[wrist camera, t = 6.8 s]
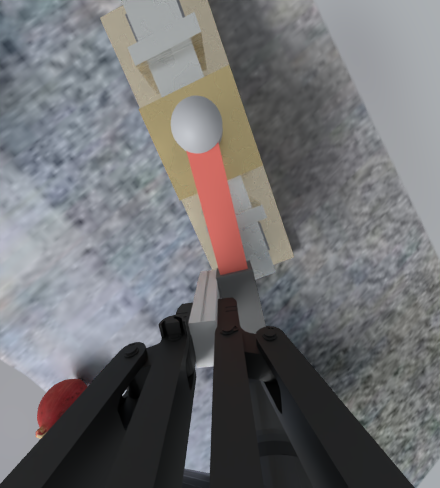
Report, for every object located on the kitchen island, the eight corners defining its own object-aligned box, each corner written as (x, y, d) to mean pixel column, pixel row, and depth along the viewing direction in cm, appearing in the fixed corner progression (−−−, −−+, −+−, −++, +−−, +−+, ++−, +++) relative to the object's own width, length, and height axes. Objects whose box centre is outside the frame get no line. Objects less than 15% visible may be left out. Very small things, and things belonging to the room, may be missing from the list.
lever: (170, 113, 14) (163, 103, 12) (216, 100, 14) (214, 88, 12) (229, 323, 18) (229, 338, 16) (265, 315, 18) (269, 330, 16)
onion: (95, 365, 34) (57, 419, 26) (102, 394, 35) (68, 453, 27) (58, 366, 34) (9, 420, 26) (67, 395, 35) (24, 454, 28)
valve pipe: (290, 253, 28) (331, 296, 17) (219, 279, 29) (216, 335, 19) (197, -21, 21) (169, -237, 10) (108, 28, 22) (-2, -119, 11)
